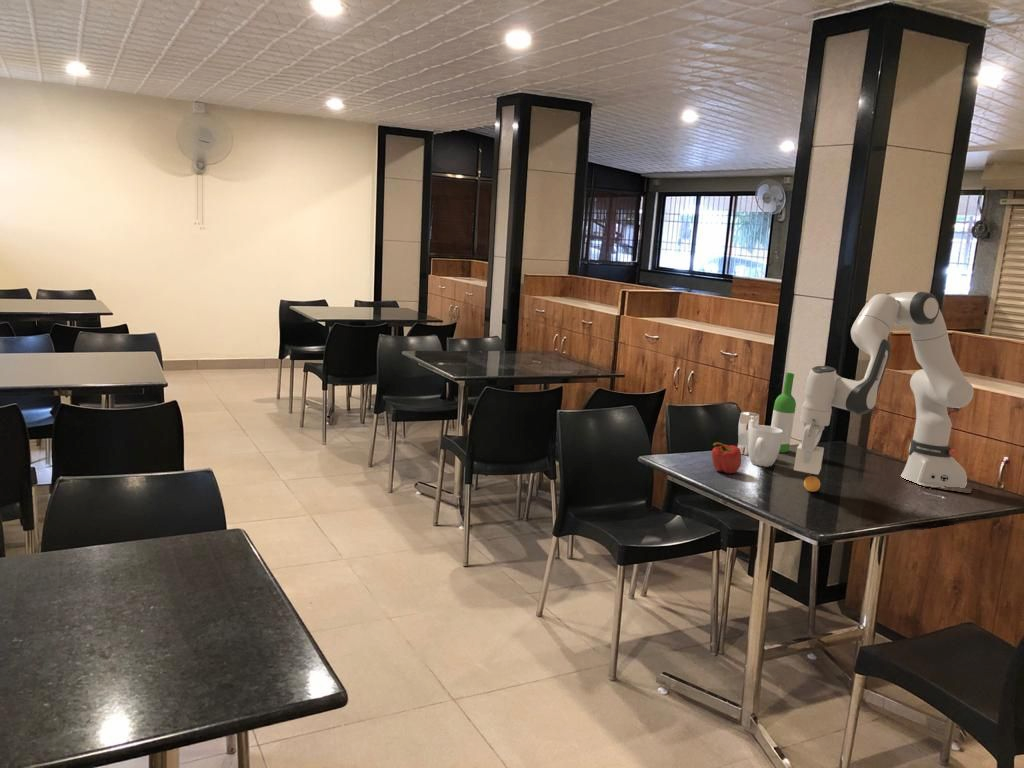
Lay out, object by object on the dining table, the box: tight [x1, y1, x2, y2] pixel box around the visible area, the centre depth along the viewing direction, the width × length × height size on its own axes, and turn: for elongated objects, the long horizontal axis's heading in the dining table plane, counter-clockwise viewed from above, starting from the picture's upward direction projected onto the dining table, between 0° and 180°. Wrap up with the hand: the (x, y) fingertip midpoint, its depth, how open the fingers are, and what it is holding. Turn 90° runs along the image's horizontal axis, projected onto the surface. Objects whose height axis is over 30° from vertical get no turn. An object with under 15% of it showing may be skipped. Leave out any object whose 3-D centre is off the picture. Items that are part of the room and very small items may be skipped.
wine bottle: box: [770, 372, 797, 454], centre depth 310 cm, size 8×8×30 cm
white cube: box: [793, 442, 825, 476], centre depth 261 cm, size 7×7×7 cm
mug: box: [748, 424, 783, 468], centre depth 286 cm, size 15×11×13 cm
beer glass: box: [736, 411, 760, 456], centre depth 302 cm, size 7×7×15 cm
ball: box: [803, 475, 821, 493], centre depth 261 cm, size 5×5×5 cm
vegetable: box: [711, 441, 742, 474], centre depth 274 cm, size 11×10×10 cm
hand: (807, 459), depth 261 cm, fingers closed on white cube, 7 cm apart
